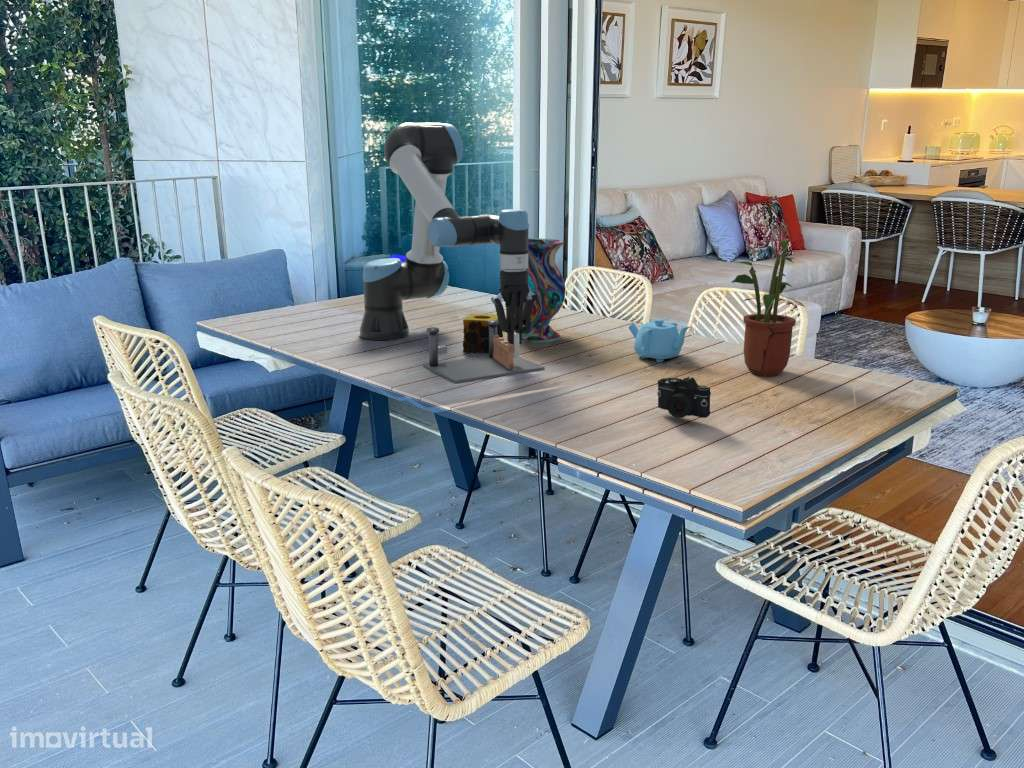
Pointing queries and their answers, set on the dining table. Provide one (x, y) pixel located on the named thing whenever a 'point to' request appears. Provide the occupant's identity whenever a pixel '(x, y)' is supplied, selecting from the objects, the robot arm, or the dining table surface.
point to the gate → (503, 352)
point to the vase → (543, 289)
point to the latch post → (434, 347)
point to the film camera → (684, 397)
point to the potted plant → (767, 324)
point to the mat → (480, 368)
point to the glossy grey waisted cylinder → (492, 335)
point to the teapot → (658, 340)
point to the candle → (478, 333)
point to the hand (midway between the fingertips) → (514, 356)
